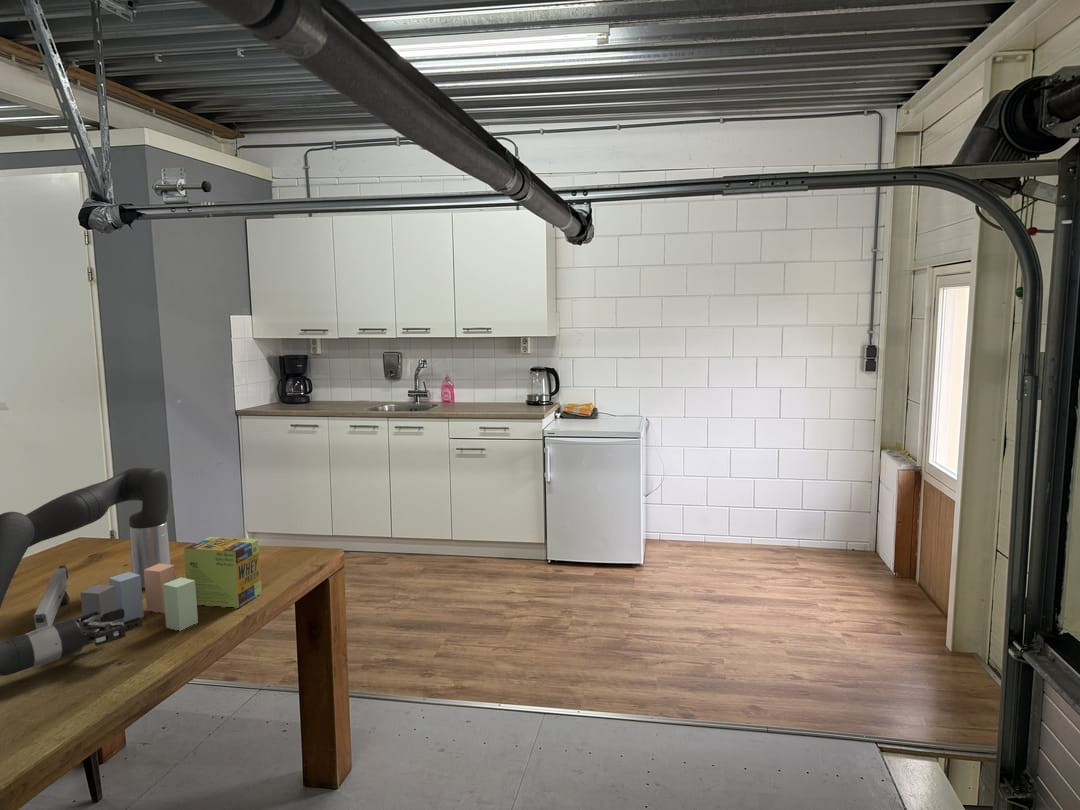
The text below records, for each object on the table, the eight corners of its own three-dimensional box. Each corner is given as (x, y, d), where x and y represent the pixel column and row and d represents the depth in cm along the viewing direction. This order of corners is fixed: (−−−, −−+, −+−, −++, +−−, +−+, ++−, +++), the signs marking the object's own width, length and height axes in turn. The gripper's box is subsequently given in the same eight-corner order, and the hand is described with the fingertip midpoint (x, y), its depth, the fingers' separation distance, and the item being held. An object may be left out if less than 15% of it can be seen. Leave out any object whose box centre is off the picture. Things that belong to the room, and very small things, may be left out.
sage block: (166, 627, 174) (162, 584, 173) (184, 619, 178) (181, 577, 177) (180, 631, 172) (176, 587, 170) (198, 623, 176) (194, 580, 175)
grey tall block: (84, 636, 169) (80, 592, 168) (101, 627, 174) (97, 584, 173) (102, 638, 168) (98, 593, 167) (119, 629, 173) (115, 585, 172)
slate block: (112, 620, 179) (108, 578, 177) (132, 613, 183) (129, 571, 181) (123, 624, 176) (120, 581, 175) (143, 617, 180) (140, 575, 179)
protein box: (239, 609, 185) (235, 551, 183) (187, 605, 188) (182, 548, 186) (262, 593, 195) (259, 538, 193) (212, 590, 198) (208, 535, 196)
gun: (73, 591, 195) (68, 559, 191) (51, 650, 173) (45, 615, 169) (62, 593, 194) (57, 561, 190) (39, 651, 172) (32, 616, 168)
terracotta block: (147, 611, 184) (143, 569, 183) (162, 603, 189) (159, 563, 187) (163, 613, 183) (159, 571, 181) (177, 605, 187) (174, 565, 186)
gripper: (64, 634, 148) (145, 608, 161) (37, 618, 156) (116, 594, 169) (68, 668, 149) (148, 640, 162) (40, 650, 157) (119, 624, 170)
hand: (132, 616), depth 165 cm, fingers open, 8 cm apart
